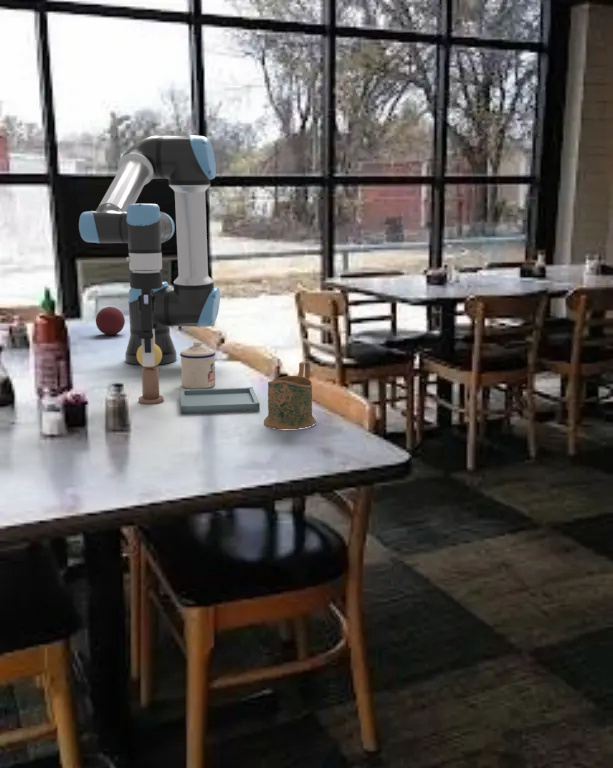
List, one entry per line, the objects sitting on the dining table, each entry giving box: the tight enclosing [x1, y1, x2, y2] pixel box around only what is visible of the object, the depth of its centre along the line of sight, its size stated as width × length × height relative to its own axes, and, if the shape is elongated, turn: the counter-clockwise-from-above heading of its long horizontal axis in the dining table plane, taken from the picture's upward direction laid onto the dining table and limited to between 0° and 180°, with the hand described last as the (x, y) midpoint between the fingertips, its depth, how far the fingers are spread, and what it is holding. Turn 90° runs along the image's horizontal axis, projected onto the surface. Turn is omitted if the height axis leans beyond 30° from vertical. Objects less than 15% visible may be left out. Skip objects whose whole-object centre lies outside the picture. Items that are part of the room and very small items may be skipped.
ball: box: [137, 344, 162, 368], centre depth 190 cm, size 6×6×6 cm
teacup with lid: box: [179, 341, 216, 390], centre depth 209 cm, size 12×9×12 cm
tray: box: [179, 386, 261, 415], centre depth 191 cm, size 16×18×2 cm
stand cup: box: [138, 365, 165, 405], centre depth 192 cm, size 6×6×9 cm
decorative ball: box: [95, 306, 126, 336], centre depth 281 cm, size 10×10×10 cm
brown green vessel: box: [263, 361, 317, 430], centre depth 177 cm, size 12×18×12 cm, turn 161°
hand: (149, 360), depth 190 cm, fingers open, 13 cm apart
